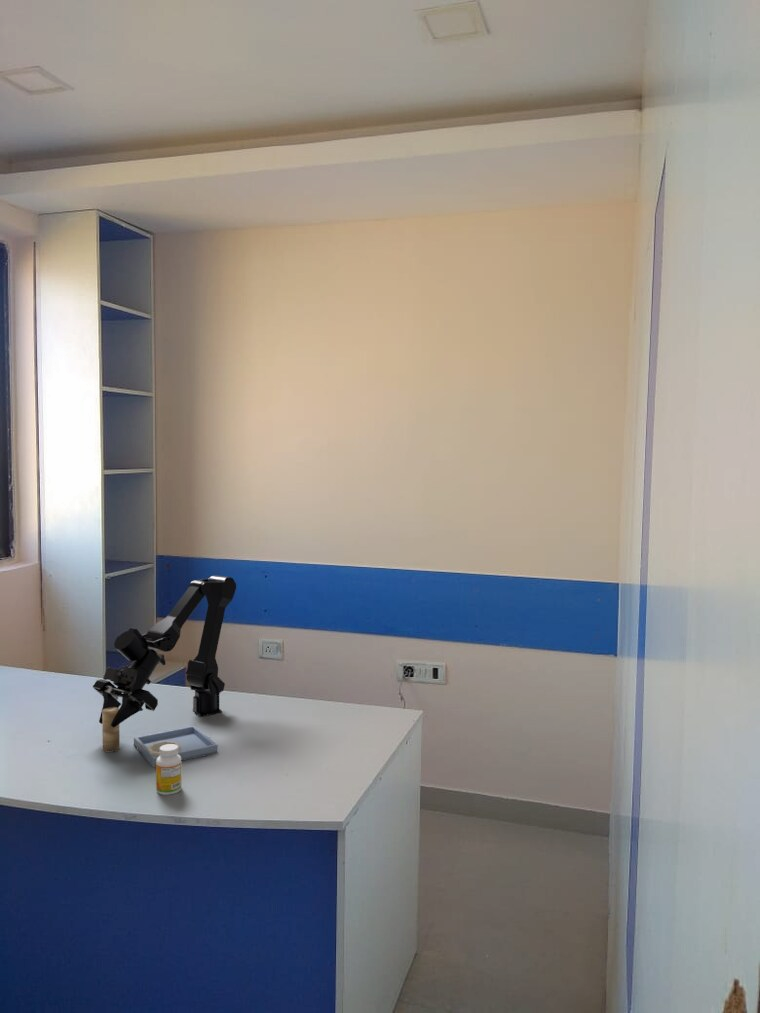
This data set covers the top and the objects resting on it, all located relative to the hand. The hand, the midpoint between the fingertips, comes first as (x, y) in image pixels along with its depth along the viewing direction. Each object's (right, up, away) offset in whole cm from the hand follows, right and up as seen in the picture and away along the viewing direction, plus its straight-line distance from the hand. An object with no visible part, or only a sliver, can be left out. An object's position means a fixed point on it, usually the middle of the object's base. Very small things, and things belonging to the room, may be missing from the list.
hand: (106, 724), depth 189 cm
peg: (+1, -7, +2) cm, 7 cm away
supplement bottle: (+21, -9, -21) cm, 31 cm away
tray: (+17, -7, +2) cm, 18 cm away
